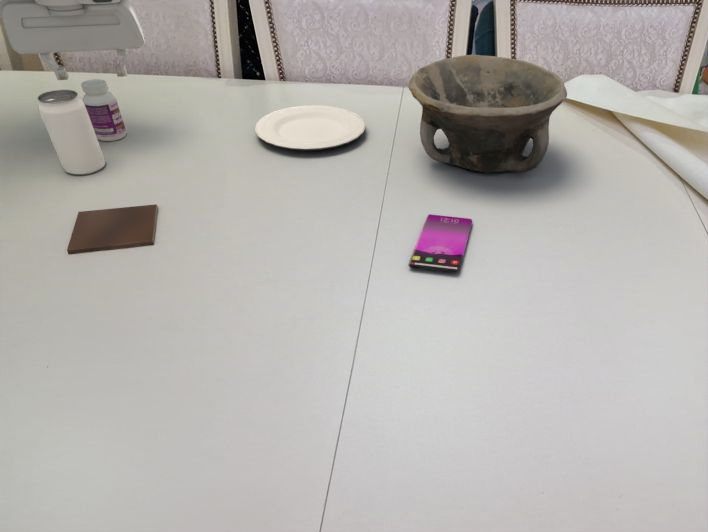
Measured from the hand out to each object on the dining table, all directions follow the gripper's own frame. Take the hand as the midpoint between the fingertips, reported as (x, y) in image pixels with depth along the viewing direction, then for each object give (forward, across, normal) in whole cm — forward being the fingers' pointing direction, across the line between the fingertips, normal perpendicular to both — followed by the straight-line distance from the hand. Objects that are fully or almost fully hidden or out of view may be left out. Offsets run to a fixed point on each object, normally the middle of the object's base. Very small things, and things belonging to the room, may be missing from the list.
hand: (93, 77), depth 108 cm
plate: (+11, +36, -6) cm, 38 cm away
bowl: (+12, +65, -24) cm, 70 cm away
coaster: (+10, +4, -35) cm, 37 cm away
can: (+11, -3, -13) cm, 17 cm away
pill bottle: (+11, 0, 0) cm, 11 cm away
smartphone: (+11, +50, -50) cm, 71 cm away
